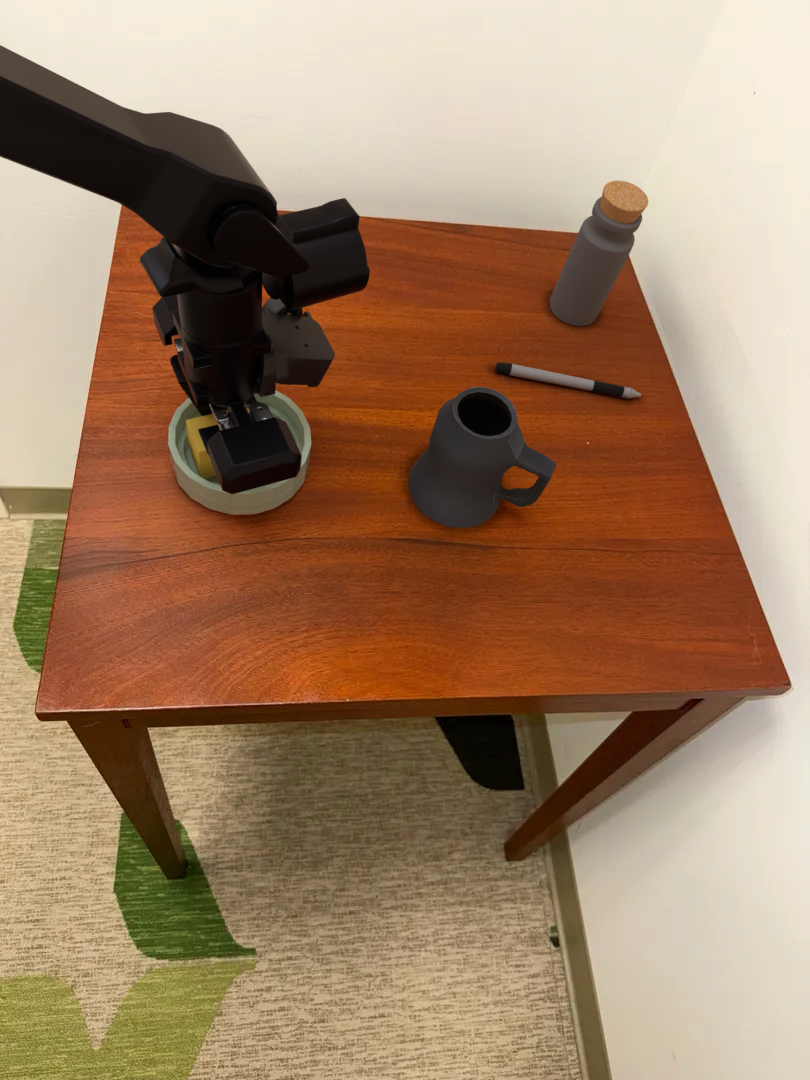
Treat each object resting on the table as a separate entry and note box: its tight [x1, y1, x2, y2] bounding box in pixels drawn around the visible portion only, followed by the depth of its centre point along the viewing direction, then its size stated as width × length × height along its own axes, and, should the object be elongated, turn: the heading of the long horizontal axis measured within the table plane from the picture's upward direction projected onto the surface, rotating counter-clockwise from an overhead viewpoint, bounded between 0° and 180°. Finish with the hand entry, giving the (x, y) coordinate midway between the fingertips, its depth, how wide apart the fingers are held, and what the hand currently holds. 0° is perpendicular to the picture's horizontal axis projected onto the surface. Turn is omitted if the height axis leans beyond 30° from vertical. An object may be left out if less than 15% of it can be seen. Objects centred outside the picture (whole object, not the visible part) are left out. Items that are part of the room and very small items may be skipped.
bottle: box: [549, 180, 649, 327], centre depth 83 cm, size 6×6×15 cm
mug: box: [407, 386, 557, 529], centre depth 68 cm, size 12×9×11 cm
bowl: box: [167, 389, 312, 516], centre depth 69 cm, size 12×12×4 cm
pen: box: [494, 361, 643, 400], centre depth 82 cm, size 1×16×1 cm, turn 84°
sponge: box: [186, 409, 249, 479], centre depth 67 cm, size 6×4×4 cm, turn 115°
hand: (227, 448), depth 68 cm, fingers closed on sponge, 3 cm apart
